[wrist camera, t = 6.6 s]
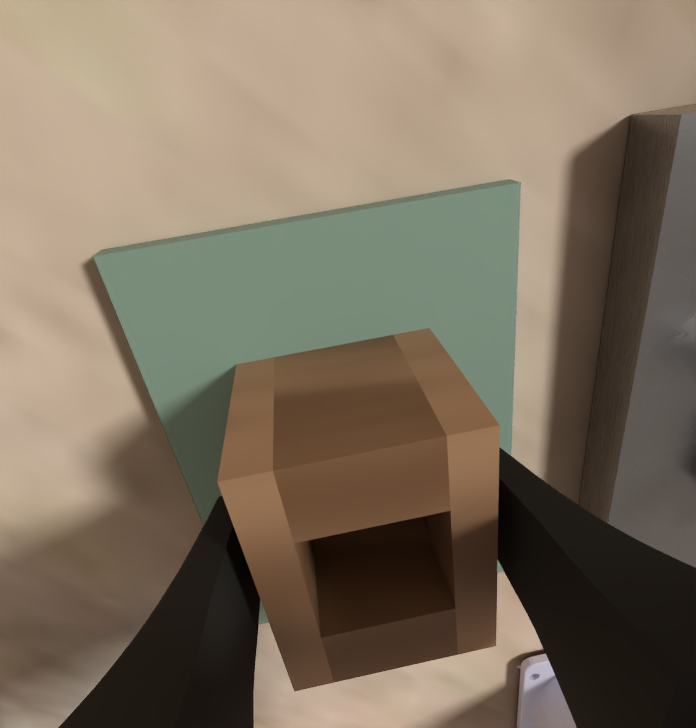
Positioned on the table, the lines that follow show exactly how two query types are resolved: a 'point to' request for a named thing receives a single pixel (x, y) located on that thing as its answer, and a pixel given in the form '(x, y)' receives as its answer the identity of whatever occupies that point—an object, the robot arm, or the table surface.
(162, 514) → the table surface
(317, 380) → the sleeve block
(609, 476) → the vise
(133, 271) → the mat
